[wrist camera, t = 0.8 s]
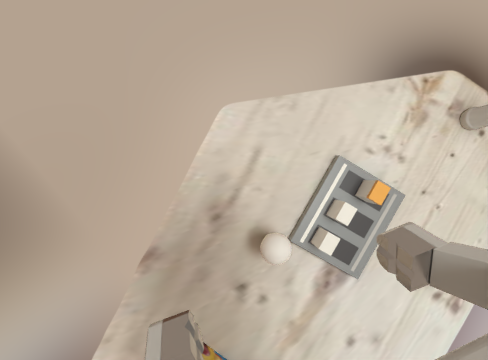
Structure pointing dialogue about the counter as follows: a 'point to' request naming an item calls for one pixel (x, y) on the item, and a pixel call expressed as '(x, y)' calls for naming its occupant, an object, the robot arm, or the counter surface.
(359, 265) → the panel
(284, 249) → the lightbulb
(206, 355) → the juice carton
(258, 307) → the counter surface
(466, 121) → the bottle
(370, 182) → the block
